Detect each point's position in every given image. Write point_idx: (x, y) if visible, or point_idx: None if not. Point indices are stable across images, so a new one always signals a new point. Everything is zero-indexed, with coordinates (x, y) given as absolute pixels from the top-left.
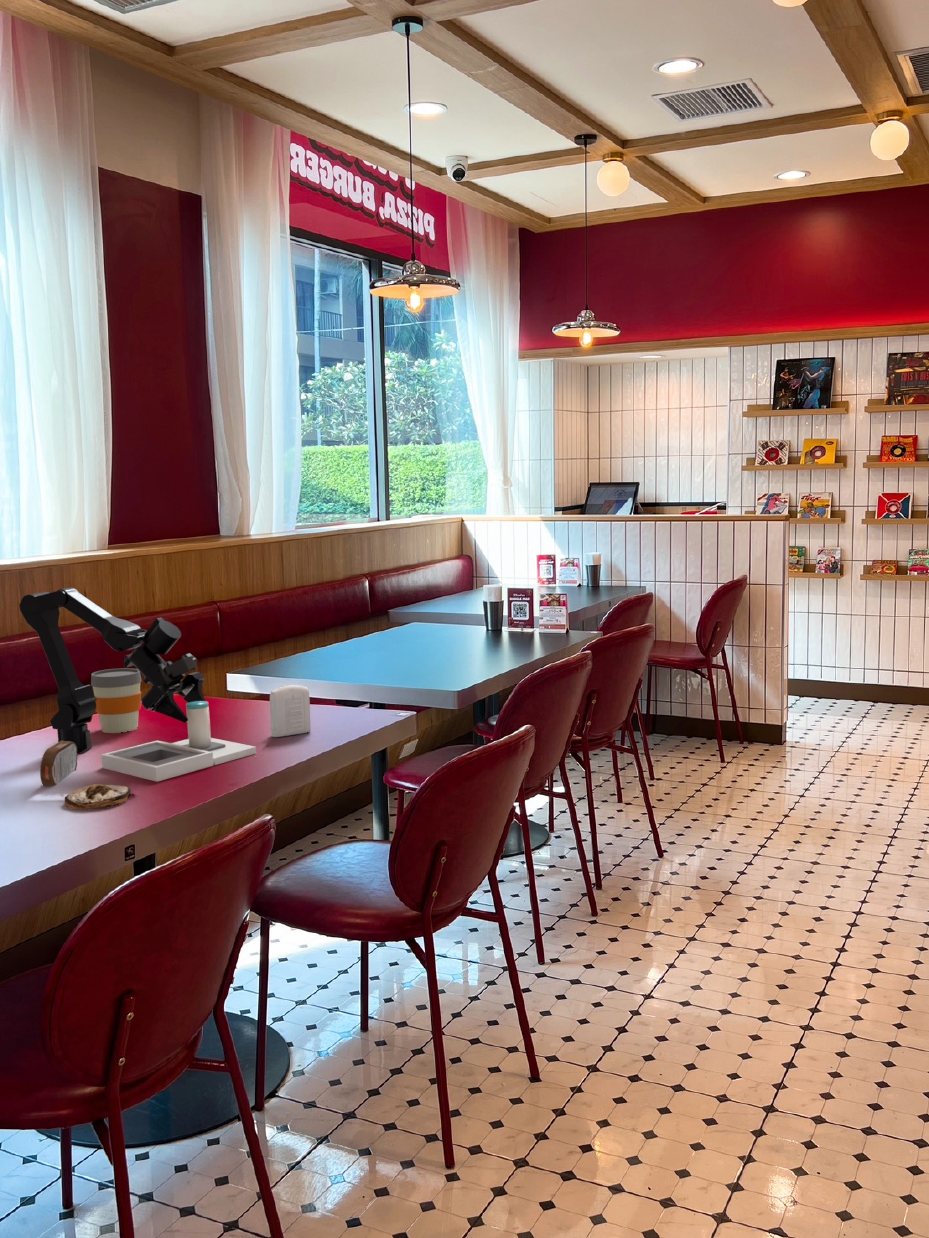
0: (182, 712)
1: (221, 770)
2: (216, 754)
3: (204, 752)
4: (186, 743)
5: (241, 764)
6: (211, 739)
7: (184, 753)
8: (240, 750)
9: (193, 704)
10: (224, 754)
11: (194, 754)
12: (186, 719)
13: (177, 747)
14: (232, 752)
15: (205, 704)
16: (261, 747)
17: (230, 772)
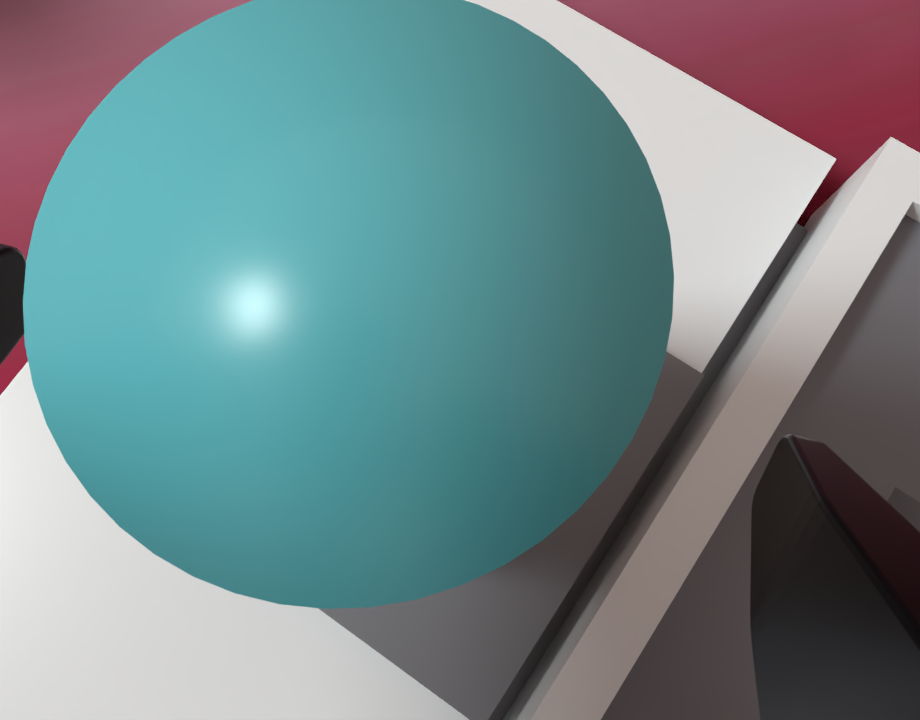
0: (892, 543)
1: (823, 145)
2: (687, 185)
3: (898, 224)
4: (186, 682)
5: (626, 37)
6: (32, 432)
7: (864, 477)
8: (529, 5)
9: (495, 333)
10: (685, 108)
11: (897, 344)
12: (831, 454)
13: (638, 650)
14: (605, 56)
15: (479, 13)
16: (66, 24)
17: (879, 56)
